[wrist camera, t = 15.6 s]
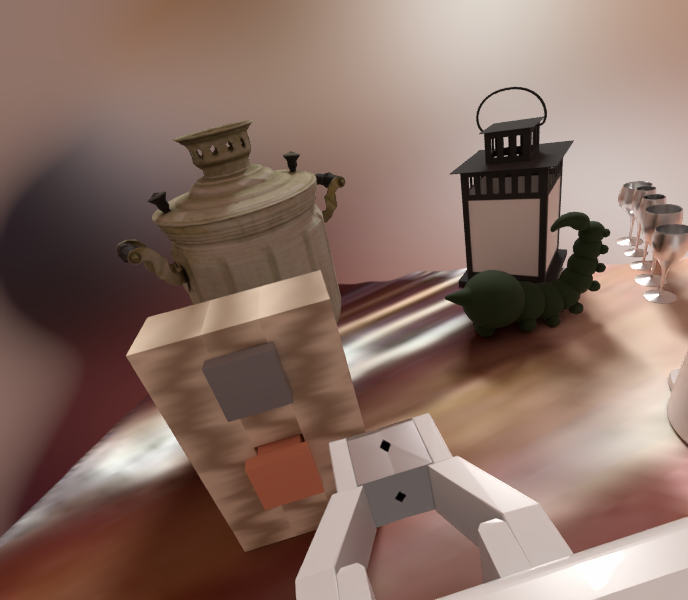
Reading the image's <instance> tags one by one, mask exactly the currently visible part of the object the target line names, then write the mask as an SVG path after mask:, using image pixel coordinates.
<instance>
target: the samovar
mask: <svg viewBox="0 0 688 600" xmlns="http://www.w3.org/2000/svg"><path fill="white" fill-rule="evenodd" d="M251 123H252V120H246V121H240V122H235V123H231V124H227V125H222V126H218V127H214V128H210V129H206V130H202V131H198V132H195V133H191V134H188V135H184V136H181V137H178V138H176V139H173V140H174V141H176V142H179V143H180V144H181V145H184V146H185V147H186V148H187V149H188V150H189V152H190V154H191V157H192V160H193V164H194V165H195V166H197V167H198V168H200V169H201V170H203V173H204V176H203V177H201V178H199V179H198V180H197V182H196V183H194V184H193V186H192V187H191V189H190V191H189V192H188V193H185V194H183V195H181V196H179V197H177V198H174V199H173V200H171V201H169V202H167V201H166V192H160V193H154V194H153V195H152V197H151V198H150V199H149V201H148V202H150V203H152V204H155V205H156V206H157V207H158V208H159V209H158V210H157V211H156V212H155V213H154V214H153V216H152V220H153V221H154V222H155V223H156V224H157V225H158V226H159V228H160V229H161V231H162V232H163V233H164V234H165V235H167V236H168V238H169V240H171V241H173V243H172V252H171V253H172V257H173V259H174V261H175V262H173V264H171V265H169V264H168V262H167V259H166V258H163V257H161V256H160V255H159V254H158V253H157V252H156V251H154V250H152V249H150V248H148V247H146V246H145V245H144V244H142V243H141V242H139V241H137V240H125V241H123V242H121V243H120V244H118V245H117V248H116V251H117V254H118V256H119V257H120V258H121V259H122V260H123V261H124V262H130V263H132V264H134V265H136V264H139V263H141V262H144V264H145V267H146V269H147V270H150V271H153V272H155V273H156V274H157V277H158V278H160V279H163V280H165V281H166V282H168V283H170V284H173V285H182V284H183V285H184V288H185V290H186V291H187V292H188V293H189V295H190V298H191V300H192V302H193V305H195V304H199V303H203V302H206V301H210V300H214V299H217V298H221V297H224V296H228V295H232V294H235V293H239V292H243V291H246V290H250V289H253V288H257V287H261V286H264V285H268V284H272V283H275V282H279V281H282V280H286V279H290V278H293V277H297V276H301V275H304V274H308V273H311V272H315V271H319V270H321V273H322V277H323V280H324V283H325V286H326V289H327V292H328V295H329V298H330V302H331V305H332V309H333V313H334V317H335V320H336V324H337V322H338V320H339V316H340V311H341V297H340V292H339V288H338V283H337V278H336V274H335V270H334V265H333V260H332V256H331V251H330V247H329V242H328V237H327V233H326V229H325V224H324V223H325V222H327V221H328V220H329V219H330V218H331V217H332V214H333V211H334V210H335V209H336V207H337V202H336V196H335V191H336V190H337V189H338V188H341V187H343V186H344V184H345V179H344V178H343V177H341V176H336V175H333V174H331V173H330V172H329V173H325V174H316V175H314V174H312V173H309V172H305V171H298V170H296V166H297V162H296V160H297V159H298V157H299V156H300V155H299V154H297V153H294V152H289V153H287V154H285V155H283V157H284V158H285V159H286V160H287V163H288V167H289V170H277V171H272V170H271V169H270V168H268V167H264V166H261V165H257V164H250V161H249V159H248V157H249V154H250V151H251V145H250V141H249V137H248V134H247V129H248V127H249V125H250V124H251ZM240 141H241V142H240ZM227 142H228V144H229V145H230V146H229V147H227V146H226V143H227ZM241 143H242V144H241ZM212 145H213V146H214V147H215V150H214V152H213V153H212V152H211V150H210V148H211V146H212ZM198 149H200V150H201V151H202V156H200V155H199V154H198V151H197V150H198ZM191 152H192V153H191ZM192 155H193V156H192ZM193 157H194V158H193ZM318 184H321V185H324V186H325V187H326V188H328V191H327V194H326V195H325V197H324V198H325V201H326V210H325V211H323V212H321V211H320V210H319V208H318V207H317V206H316V204H315V199H316V190H317V185H318Z"/></svg>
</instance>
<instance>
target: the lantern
mask: <svg viewBox="0 0 688 600" xmlns="http://www.w3.org/2000/svg"><path fill="white" fill-rule="evenodd" d="M510 89H521V90H525V91H528V92H531V93H532V94H534V95H535V96H537V98H538V99H539V100H540V101H541V103H542V105H543V107H544V113H545V115H544V117H539V118H531V119H523V120H517V121H509V122H502V123H496V124H493V125H491V126H490V127H488V128H487V129H485V130H484V131H483V130H482V129H481V127H480V125H479V121H478V115H479V111H480V108H481V106H482V104H483V103H484V102H485V100H486V99H488V98H489V97H490V96H492V95H493V94H496V93H498V92H500V91H504V90H510ZM546 117H547V110H546V106H545V103H544V101H543V100H542V98H541V97H540V96H539V95H538V94H537V93H535V92H534V91H532V90H529V89H526V88H522V87H510V88H504V89H500V90H498V91H495V92H493V93H492V94H490V95H488V97H486V98H485V99H484V100H483V101H482V103H481V104H480V106H479V108H478V111H477V116H476V121H477V125H478V128H479V129H480V131H482V132H481V133H480V134H484V137H485V138H484V139H485V150H479V151H478V152H477V153H476V154H474V155H473V156H472V157H471V158H469V159H468V160H467V161H465V162H464V163H463V164H462V165H460V166H459V167H458V168H457V169H455V170H454V171H453V172H452V173H450V174H460V175H461V190H462V204H463V218H464V232H465V245H466V260H467V270H466V272H465V273H464V275H463V276H462V277H461V279H460V280H459V286H465V285H466V284H467V282H468V281H469V280H470V279H471V278H472V277H473V276H475V275H476V274H478V273H480V272H483V271H487V270H499V271H504V272H506V273H508V274H510V275H512V276H513V277H515V278H516V279H517V280H518V282H520V281H525V282H531V283H533V284H537V283H542V282H547V283H551V282H552V281H554V280H556V279H557V278H558V276H559V273H560V271H561V268H562V266H563V263H564V260H565V258H566V255H567V250H561V249H558V246H559V229H558V230H556V231H555V232H551V231H550V229H551V226H552V225H553V223H554V222H555V221H556V220H557V219H558V218H559V217H560V206H561V205H560V204H561V185H562V166H563V157H564V155H565V153H566V152H567V150H568V149H569V147H570V146H571V144H572V143H573V141H565V142H555V143H545V144H539V128H540V126H541V125H543V124H544V123H545V120H546ZM543 118H544V120H543V122H542V123H541V124H540V121H541V120H542V119H543ZM532 132H533V144H532V145H531V139H532ZM517 135H520V146H516V136H517ZM503 137H508V139H509V140H508V142H509V147H507V148H504V141H503ZM494 138H495V149H494ZM491 139H492V149H491ZM517 154H519V156H517ZM504 155H508V156H507V157H504ZM495 156H497V157H496V158H494V157H495ZM480 176H481V178H480ZM469 177H470V189H469ZM472 177H474V185H473V186H472Z"/></svg>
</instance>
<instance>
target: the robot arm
mask: <svg viewBox="0 0 688 600" xmlns="http://www.w3.org/2000/svg"><path fill="white" fill-rule="evenodd" d="M668 383H669V386H670V388H671V391H672V393H671V397H670V399H669V401H668V404H667V415H668V418H669V421H670V423H671V425H672V426H673V428H674V429H675V431H676V432H677V433H678V434H679V436H680V437H681V438H682V439H683V440H684V441H685V442H686V443H687V444H688V350H687V353H686V355H685V358H684V360H683V363H682V365H681V367H680V369H677V370H673V371H671V373H670V375H669V377H668ZM329 451H330V456H331V462H332V467H333V473H334V479H335V484H336V490H337V493H336V494H333V495H332V496H331V498H330V501H329V503H328V505H327V508H326V510H325V512H324V515H323V517H322V519H321V522H320V524H319V526H318V529H317V531H316V533H315V536H314V538H313V540H312V543H311V545H310V547H309V550H308V552H307V554H306V557H305V559H304V561H303V564H302V566H301V568H300V571H299V573H298V575H297V578H296V580H295V585H296V600H376V598H375V595H374V593H373V590H372V587H371V584H370V581H369V578H368V575H367V573H366V572H367V567H368V563H369V559H370V555H371V551H372V547H373V543H374V539H375V535H376V531H377V530H376V528H377V527H380V526H383V525H386V524H389V523H392V522H395V521H398V520H400V519H403V518H405V517H410V516H413V515H417V514H421V513H424V512H428V511H431V510H435V509H436V511H437V512H438V513H439V514H440V515H441V516H442V517H444V518H445V519H446V520H447V521H448V522H449V523H451V524H452V525H453V526H454V527H455V528H456V529H458V530H459V531H460V532H461V533H462V534H463V535H465V536H466V537H467V538H468V539H469V540H471V541H472V542H473V543H474V544H475V545H476V546H478V547H479V548H480V559H481V571H482V583H483V584H481V585H478V586H475V587H472V588H469V589H466V590H463V591H460V592H457V593H454V594H451V595H448V596H445V597H442V598H438V599H435V600H688V517H685V518H682V519H679V520H676V521H673V522H670V523H667V524H664V525H661V526H658V527H655V528H652V529H649V530H646V531H643V532H639V533H636V534H633V535H630V536H627V537H624V538H621V539H618V540H615V541H612V542H609V543H606V544H603V545H600V546H597V547H594V548H591V549H588V550H585V551H582V552H579V553H576V554H573V552H572V551H571V549H570V548H569V547H568V545H567V544H566V542H565V541H564V539H563V538H562V536H561V535H560V533H559V532H558V530H557V529H556V527H555V526H554V525H553V523H552V522H551V520H550V519H549V517H548V516H547V514H546V513H545V511H544V510H543V508H542V507H541V506H540V504H539V503H538V502H536V501H534V500H532V499H531V498H529V497H527V496H526V495H524V494H522V493H520V492H519V491H517V490H515V489H514V488H512V487H510V486H509V485H507V484H505V483H503V482H502V481H500V480H498V479H497V478H495V477H493V476H492V475H490V474H488V473H486V472H485V471H483V470H481V469H480V468H478V467H476V466H474V465H473V464H471V463H469V462H468V461H466V460H464V459H463V458H461V457H459V456H456V457H453V456H452V454H451V453H450V451H449V449H448V447H447V445H446V443H445V441H444V439H443V438H442V436H441V434H440V432H439V430H438V428H437V426H436V424H435V423H434V421H433V419H432V417H431V415H430V414H428V413H427V414H424V415H420V416H417V417H414V418H412V419H411V418H410V419H407V420H404V421H401V422H397V423H394V424H391V425H388V426H385V427H382V428H379V429H376V430H373V431H369V432H365V433H362V434H358V435H354V436H351V437H347V438H344V439H341V440H337V441H334V442H330V443H329Z"/></svg>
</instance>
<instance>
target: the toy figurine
mask: <svg viewBox="0 0 688 600" xmlns="http://www.w3.org/2000/svg"><path fill="white" fill-rule="evenodd" d="M565 226H570V227H572V228H573V229H575V230H579V232H578V236H579V238H578V239H577V240H576V241H575V243H574V245H573V252H574V254H572V255H571V256H570V258H569V259H568V262H567V268H566V269H565V270H564V271H563V272H562V273H561V275H560V278H559V279H556V280H554V281H552V282H551V283H547V282H542V283H537V284H533V283H531V282H525V281H520V282H518V280H517V279H516V278H515V277H513V276H512V275H510V274H508V273H506V272H504V271H499V270H487V271H483V272H480V273H478V274H476V275H475V276H473V277H472V278H471V279H470V280H469V281H468V282H467V284H466V285H465V287H464V289H463V290H461V291H458V292H455V293H452V294H449V295H447V296H446V297H445V299H446V300H448V301H451V302H453V303H456V304H458V305H461V306H463V309H464V311H465V313H466V315H467V316H468V317H469V319H470V320H471V321H473V325H474V329H475V330H476V331H477V333H478V334H480V335H481V336H483V337H489V336H492V335H493V334H494V332H495V328H501V327H505V326H507V325H509V324H511V323H513V322H514V321H515V322H519V327H520V328H521V329H522V330H523V331H526V332H531V331H533V330H534V329H535V328H536V319H544V320H546V322H547V324H548V325H549V326H551V327H556V326H558V325H559V324H560V318H559V316H558V315H559V314H560V313H561V312H562V311H563V309H568V308H569V311H570V312H571V313H573V314H576V315H577V314H580V313H582V311H583V305H582V304H581V303H579V302H578V300H579V298H580V294H581V293H584V292H586V291H587V290H588V289H589V290H590V291H598V290H599V289H600V284H599V282H598V281H593V277H592V274H594V273H595V271H596V272H603V271H604V270H605V268H606V266H605V265H604V264H603V263H598V259H597V257H598V256H599V255H600V254H605V253H607V252H608V247H607V246H606V245H603V244H602V241H601V240H602V239H603V237H608V236H609V235H610V231H609V229H605V228H604V226H603V225H602V224H600V223H599V222H595V221H590V220H589V217H588V216H587V215H586V214H584V213H580V212H570V213H567V214H564V215H562V216H561V217H559V218H558V219H557V220H556V221H555V222H554V223H553V225H552V226H551V229H550V231H551V232H555V231H556V230H558V229H560V228H562V227H565Z"/></svg>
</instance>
